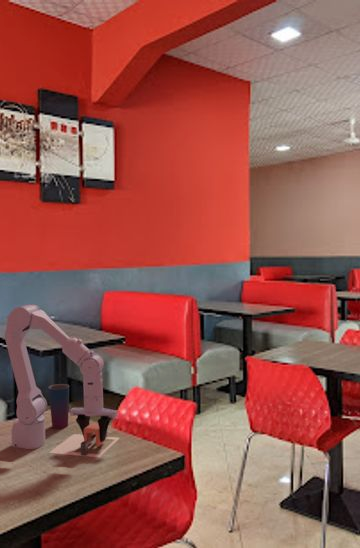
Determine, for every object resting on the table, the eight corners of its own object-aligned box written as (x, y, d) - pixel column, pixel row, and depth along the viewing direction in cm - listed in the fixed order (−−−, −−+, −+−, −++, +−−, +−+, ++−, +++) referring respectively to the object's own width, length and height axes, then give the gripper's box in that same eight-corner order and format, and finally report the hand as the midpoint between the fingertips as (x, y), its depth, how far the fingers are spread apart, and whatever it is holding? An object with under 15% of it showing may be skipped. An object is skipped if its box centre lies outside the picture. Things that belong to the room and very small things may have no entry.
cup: (54, 427, 183) (52, 383, 182) (73, 427, 182) (72, 384, 181) (46, 433, 176) (45, 389, 175) (66, 434, 175) (65, 389, 174)
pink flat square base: (48, 457, 155) (48, 440, 155) (73, 438, 171) (73, 423, 171) (99, 462, 151) (98, 445, 151) (120, 442, 167) (119, 426, 166)
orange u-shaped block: (84, 445, 158) (83, 429, 158) (91, 439, 163) (90, 423, 163) (98, 446, 157) (97, 430, 157) (105, 440, 162) (104, 424, 162)
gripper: (65, 397, 157) (66, 442, 158) (110, 400, 154) (111, 446, 154) (75, 391, 164) (77, 434, 165) (119, 393, 160) (120, 438, 161)
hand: (94, 440), depth 160 cm, fingers closed on orange u-shaped block, 5 cm apart
